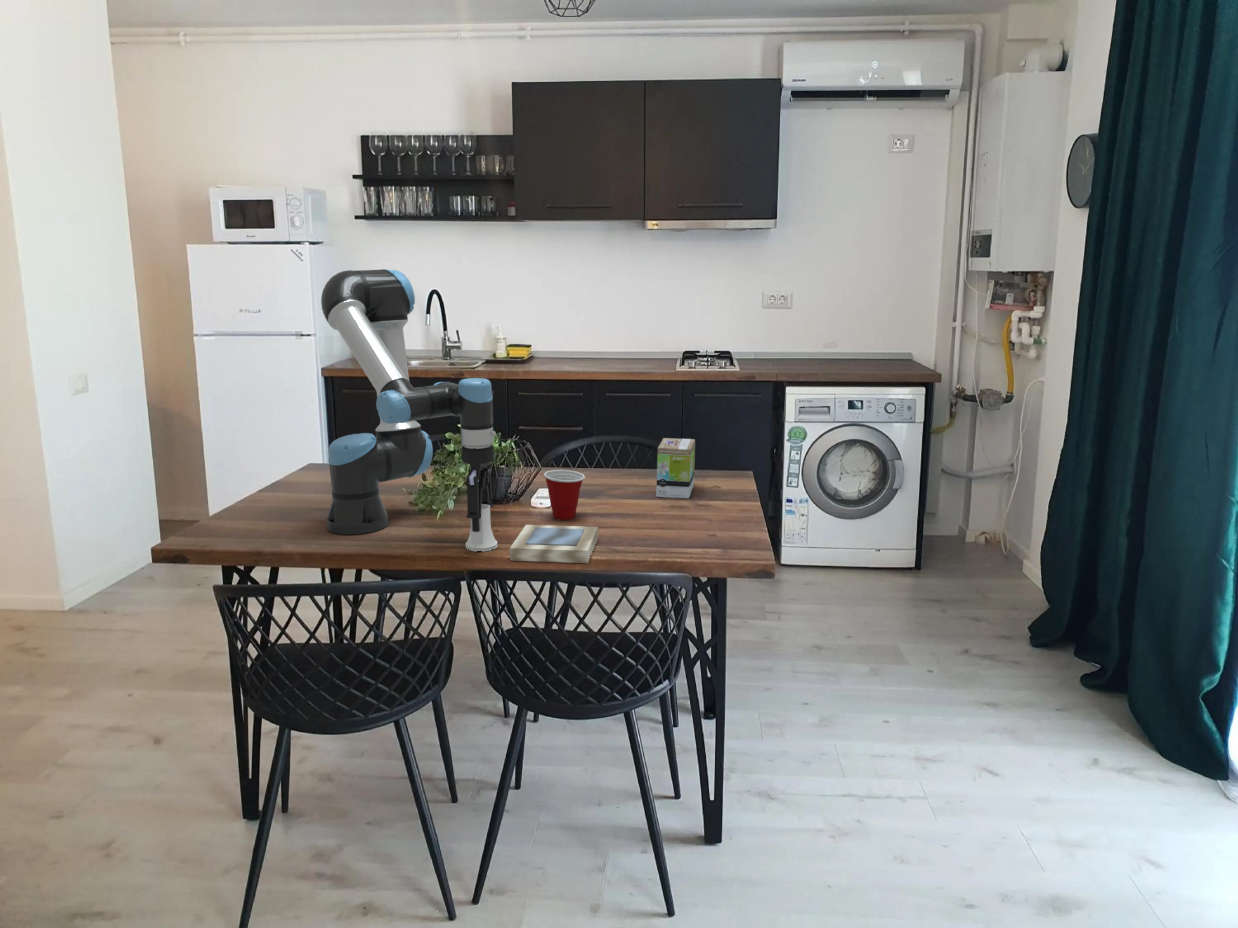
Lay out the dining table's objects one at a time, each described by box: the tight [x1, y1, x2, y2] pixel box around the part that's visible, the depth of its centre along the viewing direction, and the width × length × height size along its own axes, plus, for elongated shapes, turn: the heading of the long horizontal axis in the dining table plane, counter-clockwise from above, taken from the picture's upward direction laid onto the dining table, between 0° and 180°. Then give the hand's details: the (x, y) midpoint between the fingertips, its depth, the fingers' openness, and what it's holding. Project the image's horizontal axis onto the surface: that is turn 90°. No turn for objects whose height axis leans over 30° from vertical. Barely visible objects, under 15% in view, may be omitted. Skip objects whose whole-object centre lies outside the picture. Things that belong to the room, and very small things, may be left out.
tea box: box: [655, 437, 696, 499], centre depth 265 cm, size 15×10×15 cm, turn 171°
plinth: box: [509, 524, 599, 564], centre depth 216 cm, size 18×18×3 cm
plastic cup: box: [543, 469, 585, 521], centre depth 240 cm, size 11×11×12 cm
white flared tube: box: [465, 504, 498, 552], centre depth 217 cm, size 8×8×10 cm
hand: (481, 538), depth 218 cm, fingers closed on white flared tube, 7 cm apart
